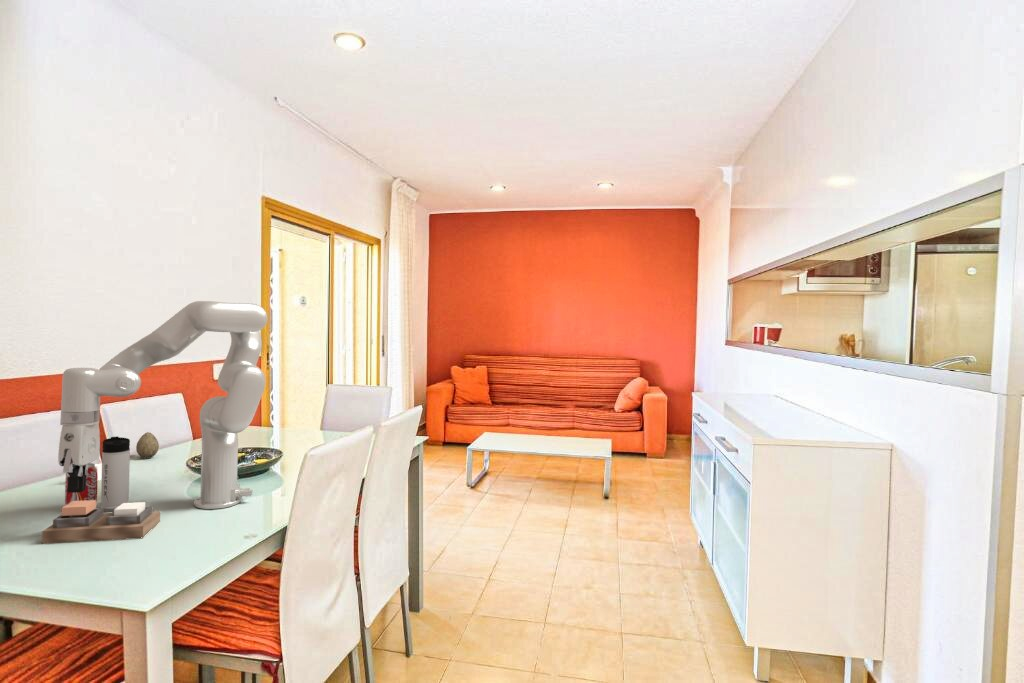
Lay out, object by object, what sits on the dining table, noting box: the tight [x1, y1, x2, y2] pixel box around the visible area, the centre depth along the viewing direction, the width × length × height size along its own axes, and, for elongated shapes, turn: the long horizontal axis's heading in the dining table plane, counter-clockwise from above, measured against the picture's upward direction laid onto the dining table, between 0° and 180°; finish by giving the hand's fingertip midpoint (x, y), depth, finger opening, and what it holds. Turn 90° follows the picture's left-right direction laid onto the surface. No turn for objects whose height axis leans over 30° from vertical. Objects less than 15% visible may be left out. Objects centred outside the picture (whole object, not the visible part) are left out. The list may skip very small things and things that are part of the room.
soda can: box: [64, 462, 99, 506], centre depth 150 cm, size 7×7×12 cm
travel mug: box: [100, 435, 131, 513], centre depth 150 cm, size 6×7×20 cm
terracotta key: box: [61, 500, 97, 516], centre depth 133 cm, size 5×5×2 cm
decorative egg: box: [135, 431, 160, 459], centre depth 204 cm, size 7×7×10 cm
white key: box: [114, 501, 146, 516], centre depth 136 cm, size 5×5×2 cm
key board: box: [41, 505, 161, 545], centre depth 134 cm, size 21×11×5 cm, turn 105°
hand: (76, 491), depth 132 cm, fingers closed
